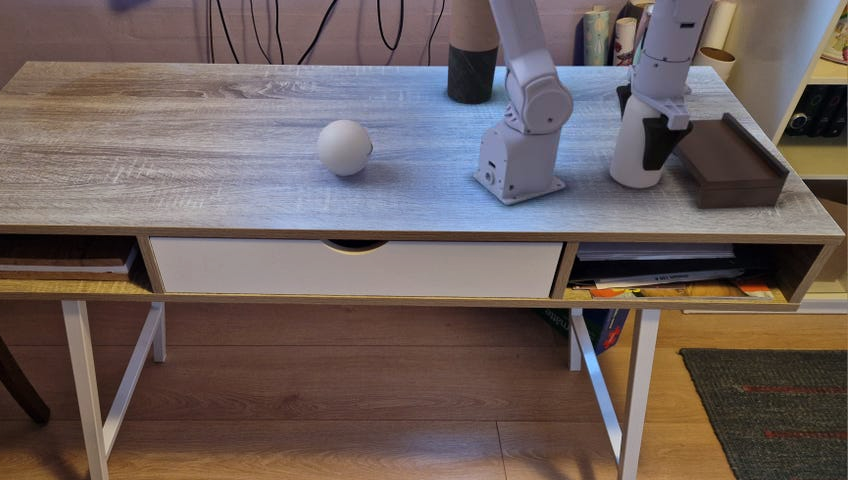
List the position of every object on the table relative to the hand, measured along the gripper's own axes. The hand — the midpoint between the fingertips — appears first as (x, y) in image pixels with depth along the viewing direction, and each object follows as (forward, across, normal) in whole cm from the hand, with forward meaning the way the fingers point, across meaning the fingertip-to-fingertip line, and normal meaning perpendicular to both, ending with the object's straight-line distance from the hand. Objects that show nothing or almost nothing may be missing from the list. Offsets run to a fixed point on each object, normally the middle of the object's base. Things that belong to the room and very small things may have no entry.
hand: (640, 154), depth 92 cm
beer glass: (+4, +20, -9) cm, 23 cm away
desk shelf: (+3, 0, -10) cm, 11 cm away
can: (+4, 0, 0) cm, 4 cm away
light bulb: (0, +4, +39) cm, 39 cm away
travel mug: (+4, +27, +17) cm, 32 cm away
